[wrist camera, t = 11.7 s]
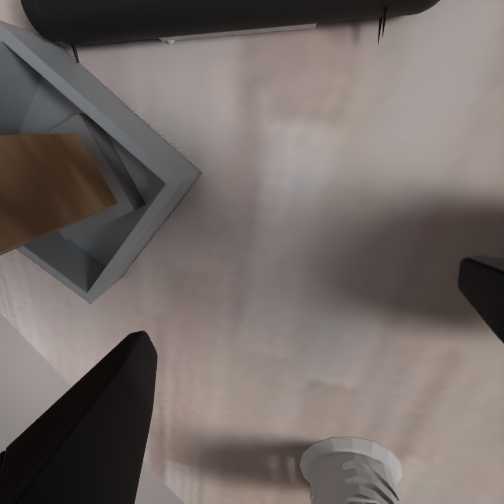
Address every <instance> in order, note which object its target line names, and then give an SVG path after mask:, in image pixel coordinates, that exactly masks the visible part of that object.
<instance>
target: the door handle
mask: <svg viewBox="0 0 504 504" xmlns="http://www.w3.org/2000/svg"><path fill="white" fill-rule="evenodd" d="M439 1H440V0H21V3H22V6H23V9H24V11H25V13H26V15H27V17H28V19H29V21H30V22H31V24H32V25H33V27H34V28H35V29H36V31H37V32H38V33H39V34H40V35H41V36H43V37H44V38H45V39H47V40H49V41H52V42H57V41H62V42H64V43H67V44H70V45H72V46H71V47H72V48H73V52H74V56H75V57H76V62H77V63H79V60H78V55H77V50H76V45H89V44H100V43H111V42H122V41H133V40H144V39H154V38H159V39H160V40H161V41H162V42H167V43H168V44H173V43H174V41H178V40H189V39H200V38H211V37H222V36H233V35H244V34H255V33H266V32H277V31H288V30H299V29H310V28H316V24H317V23H328V22H338V21H349V20H360V19H371V18H379V34H378V43H379V37H380V30H381V24H382V17H383V32H384V26H385V20H386V17H393V16H403V15H414V14H418V13H421V12H423V11H426V10H427V9H429V8H431V7H432V6H434V5H435V4H436V3H437V2H439ZM382 38H383V34H382Z"/></svg>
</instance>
